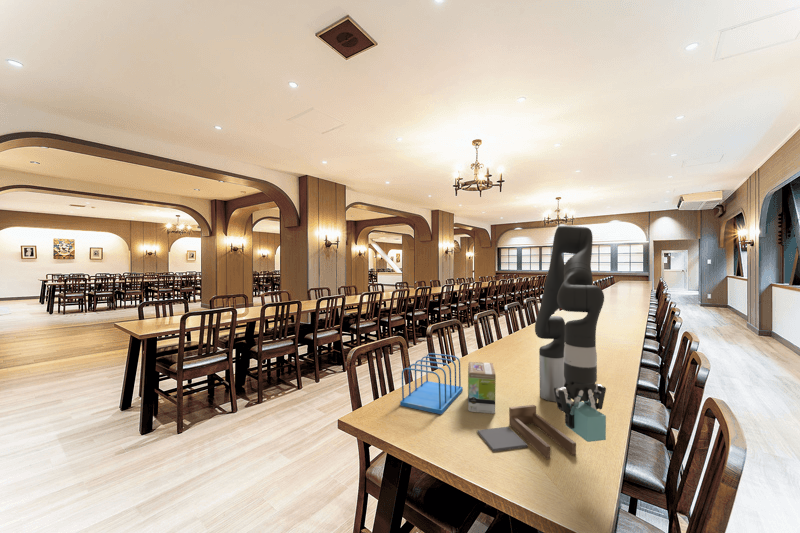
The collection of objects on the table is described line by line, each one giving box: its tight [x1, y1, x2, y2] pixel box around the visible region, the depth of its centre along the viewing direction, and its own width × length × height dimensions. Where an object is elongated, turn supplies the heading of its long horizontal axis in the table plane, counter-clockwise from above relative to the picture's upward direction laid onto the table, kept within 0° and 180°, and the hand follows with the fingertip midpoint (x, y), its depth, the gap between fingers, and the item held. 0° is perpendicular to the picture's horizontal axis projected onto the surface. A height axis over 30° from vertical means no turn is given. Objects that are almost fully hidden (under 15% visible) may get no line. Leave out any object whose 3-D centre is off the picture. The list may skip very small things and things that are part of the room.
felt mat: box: [477, 426, 528, 452], centre depth 101 cm, size 11×11×1 cm
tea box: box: [467, 361, 497, 414], centre depth 127 cm, size 15×10×15 cm
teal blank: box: [564, 401, 607, 443], centre depth 83 cm, size 5×8×6 cm, turn 10°
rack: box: [508, 404, 577, 460], centre depth 102 cm, size 9×20×6 cm, turn 11°
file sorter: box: [399, 352, 464, 415], centre depth 134 cm, size 25×17×15 cm
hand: (579, 425), depth 85 cm, fingers closed on teal blank, 5 cm apart
